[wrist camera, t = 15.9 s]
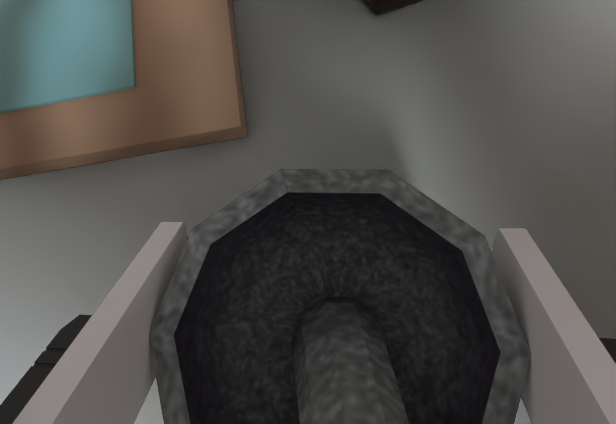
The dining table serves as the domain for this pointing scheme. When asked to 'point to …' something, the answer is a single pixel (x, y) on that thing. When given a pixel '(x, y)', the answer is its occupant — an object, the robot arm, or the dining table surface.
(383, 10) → the manual coffee grinder
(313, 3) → the dining table surface
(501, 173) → the dining table surface
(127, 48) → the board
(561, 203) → the dining table surface
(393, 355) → the mortar and pestle
